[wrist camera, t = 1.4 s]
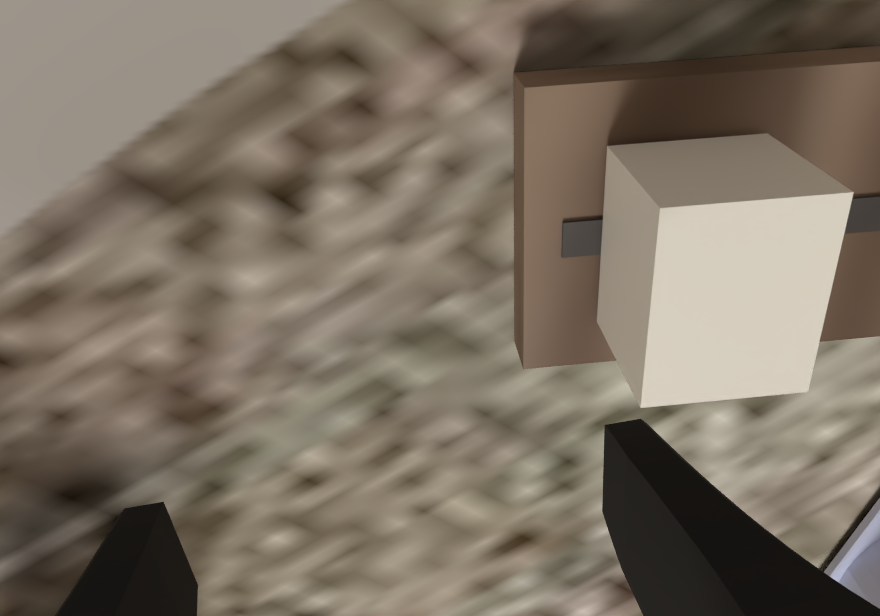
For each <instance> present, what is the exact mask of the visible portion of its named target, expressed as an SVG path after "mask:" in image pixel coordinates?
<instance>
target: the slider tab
mask: <svg viewBox="0 0 880 616" xmlns="http://www.w3.org/2000/svg"><path fill="white" fill-rule="evenodd" d="M853 193H854V192H853V191H851V190H850V189H848V188H847V187H845V186H844V185H842V184H841V183H840V182H838V181H837V180H835V179H834V178H832V177H831V176H829V175H828V174H826V173H825V172H823V171H822V170H820V169H819V168H818V167H816V166H815V165H813V164H812V163H810V162H809V161H807V160H806V159H804V158H803V157H801V156H800V155H799V154H797V153H796V152H794V151H793V150H791V149H790V148H788V147H787V146H785V145H784V144H782V143H781V142H780V141H778V140H777V139H775V138H774V137H772V136H771V135H769V134H768V133H765V134H752V135H739V136H727V137H714V138H701V139H689V140H676V141H663V142H650V143H638V144H625V145H612V146H607V157H606V174H605V191H604V208H603V225H602V242H601V259H600V276H599V293H598V310H597V323H598V325H599V327H600V329H601V331H602V333H603V335H604V337H605V339H606V341H607V343H608V345H609V347H610V349H611V351H612V353H613V355H614V357H615V358H616V360H617V362H618V364H619V366H620V368H621V370H622V372H623V374H624V376H625V378H626V380H627V382H628V384H629V386H630V388H631V390H632V392H633V394H634V396H635V398H636V400H637V402H638V404H639V406H640V408H644V407H655V406H665V405H675V404H686V403H696V402H707V401H717V400H728V399H738V398H749V397H759V396H769V395H780V394H790V393H801V392H808V389H809V385H810V380H811V376H812V372H813V367H814V363H815V359H816V354H817V350H818V346H819V341H820V337H821V333H822V328H823V324H824V319H825V315H826V311H827V306H828V302H829V298H830V293H831V289H832V285H833V280H834V276H835V272H836V267H837V263H838V259H839V254H840V250H841V245H842V241H843V237H844V232H845V228H846V224H847V219H848V215H849V211H850V206H851V202H852V198H853Z"/></svg>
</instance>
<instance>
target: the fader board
mask: <svg viewBox="0 0 880 616" xmlns="http://www.w3.org/2000/svg"><path fill="white" fill-rule="evenodd" d="M765 133H768V134H769V135H771V136H772V137H774V138H775V139H777V140H778V141H780V142H781V143H782V144H784V145H785V146H787V147H788V148H790V149H791V150H793V151H794V152H796V153H797V154H799V155H800V156H801V157H803V158H804V159H806V160H807V161H809V162H810V163H812V164H813V165H815V166H816V167H818V168H819V169H820V170H822V171H823V172H825V173H826V174H828V175H829V176H831V177H832V178H834V179H835V180H837V181H838V182H840V183H841V184H842V185H844V186H845V187H847V188H848V189H850V190H851V191H853V192H854V193H853V198H852V202H851V206H850V211H849V215H848V219H847V224H846V228H845V232H844V237H843V241H842V245H841V250H840V254H839V259H838V263H837V267H836V272H835V276H834V280H833V285H832V289H831V293H830V298H829V302H828V306H827V311H826V315H825V319H824V324H823V328H822V333H821V337H820V341H819V342H821V341H832V340H843V339H854V338H865V337H875V336H880V46H869V47H855V48H842V49H828V50H814V51H801V52H787V53H773V54H760V55H746V56H732V57H719V58H705V59H692V60H678V61H664V62H651V63H637V64H623V65H610V66H596V67H582V68H569V69H555V70H541V71H528V72H514V333H515V344H516V347H517V350H518V354H519V357H520V360H521V363H522V366H523V369H529V368H540V367H551V366H562V365H573V364H583V363H594V362H605V361H616V358H615V357H614V355H613V353H612V351H611V349H610V347H609V345H608V343H607V341H606V339H605V337H604V335H603V333H602V331H601V329H600V327H599V325H598V323H597V310H598V293H599V276H600V259H601V242H602V225H603V208H604V191H605V174H606V157H607V146H612V145H625V144H638V143H650V142H663V141H676V140H689V139H701V138H714V137H727V136H739V135H752V134H765Z"/></svg>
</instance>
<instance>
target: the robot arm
mask: <svg viewBox="0 0 880 616" xmlns="http://www.w3.org/2000/svg"><path fill="white" fill-rule="evenodd" d="M602 512H603V515H604V518H605V521H606V524H607V527H608V530H609V533H610V536H611V539H612V542H613V545H614V548H615V551H616V554H617V557H618V560H619V562H620V565H621V568H622V570H623V573H624V575H625V577H626V579H627V581H628V583H629V586H630V588H631V590H632V592H633V594H634V596H635V598H636V601H637V603H638V605H639V607H640V609H641V611H642V613H643V616H880V498H879V499H878V501H877V502H876V503H875V505H874V506H873V507H872V509H871V510H870V511H869V513H868V514H867V515H866V516H865V518H864V519H863V520H862V522H861V523H860V524H859V526H858V527H857V528H856V530H855V531H854V532H853V534H852V535H851V536H850V538H849V539H848V540H847V542H846V543H845V544H844V546H843V547H842V548H841V550H840V551H839V552H838V554H837V555H836V556H835V558H834V559H833V560H832V562H831V563H830V564H829V566H828V567H827V568H826V570H825V571H824V572H822V571H821V570H819V569H818V568H817V567H815V566H814V565H812V564H811V563H810V562H808V561H807V560H805V559H804V558H803V557H801V556H800V555H799V554H797V553H796V552H794V551H793V550H792V549H790V548H789V547H788V546H786V545H785V544H784V543H783V542H781V541H780V540H779V539H777V538H776V537H775V536H773V535H772V534H771V533H770V532H768V531H767V530H766V529H764V528H763V527H762V526H761V525H759V524H758V523H757V522H756V521H754V520H753V519H752V518H751V517H750V516H748V515H747V514H746V513H745V512H743V511H742V510H741V509H740V508H739V507H738V506H736V505H735V504H734V503H733V502H732V501H731V500H729V499H728V498H727V497H726V496H725V495H724V494H722V493H721V492H720V491H719V490H718V489H717V488H715V487H714V486H713V485H712V484H711V483H710V482H709V481H707V480H706V479H705V478H704V477H703V476H702V475H701V474H700V473H699V472H698V471H696V470H695V469H694V468H693V467H692V466H691V465H690V464H689V463H688V462H687V461H686V460H684V459H683V458H682V457H681V456H680V455H679V454H678V453H677V452H676V451H675V450H674V449H673V448H672V447H671V446H670V445H669V444H668V443H667V442H665V441H664V440H663V439H662V438H661V437H660V436H659V435H658V434H657V433H656V432H655V431H654V430H653V429H652V428H651V427H650V426H649V425H648V424H647V423H646V422H644V421H643V420H641V419H637V420H631V421H626V422H620V423H614V424H608V425H605V436H604V472H603V509H602ZM197 593H198V584H197V582H196V579H195V577H194V575H193V572H192V570H191V567H190V565H189V562H188V560H187V558H186V555H185V553H184V550H183V548H182V546H181V543H180V541H179V538H178V536H177V533H176V531H175V529H174V526H173V524H172V521H171V519H170V516H169V514H168V512H167V509H166V507H165V504H164V502H160V503H154V504H148V505H143V506H137V507H131V508H125V509H124V510H123V511H122V513H121V514H120V515H119V517H118V518H117V520H116V522H115V523H114V525H113V526H112V528H111V530H110V531H109V533H108V534H107V536H106V538H105V539H104V541H103V542H102V544H101V546H100V547H99V549H98V550H97V552H96V554H95V555H94V557H93V558H92V560H91V562H90V563H89V565H88V566H87V568H86V569H85V571H84V573H83V574H82V576H81V577H80V579H79V580H78V582H77V584H76V585H75V587H74V588H73V590H72V591H71V593H70V594H69V596H68V597H67V599H66V600H65V602H64V603H63V605H62V606H61V608H60V609H59V611H58V612H57V614H56V615H55V616H197Z"/></svg>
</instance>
